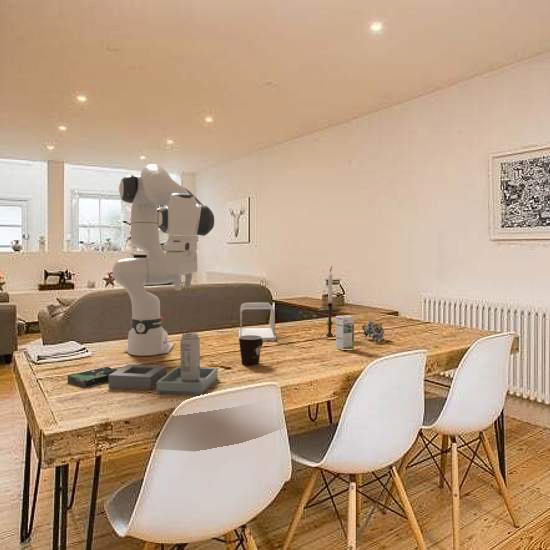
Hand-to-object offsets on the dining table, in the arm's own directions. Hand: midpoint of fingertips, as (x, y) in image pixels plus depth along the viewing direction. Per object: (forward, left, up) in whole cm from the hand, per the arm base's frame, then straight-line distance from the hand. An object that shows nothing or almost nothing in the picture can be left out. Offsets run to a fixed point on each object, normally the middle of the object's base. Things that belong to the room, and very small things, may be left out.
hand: (182, 288), depth 152 cm
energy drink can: (0, +2, -30) cm, 30 cm away
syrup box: (-60, +51, -31) cm, 85 cm away
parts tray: (+2, +2, -31) cm, 31 cm away
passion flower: (-81, +64, -31) cm, 108 cm away
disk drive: (0, -30, -31) cm, 43 cm away
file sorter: (-83, +9, -31) cm, 89 cm away
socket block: (+1, -15, -31) cm, 34 cm away
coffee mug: (-30, +17, -31) cm, 46 cm away
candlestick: (-84, +44, -31) cm, 100 cm away
